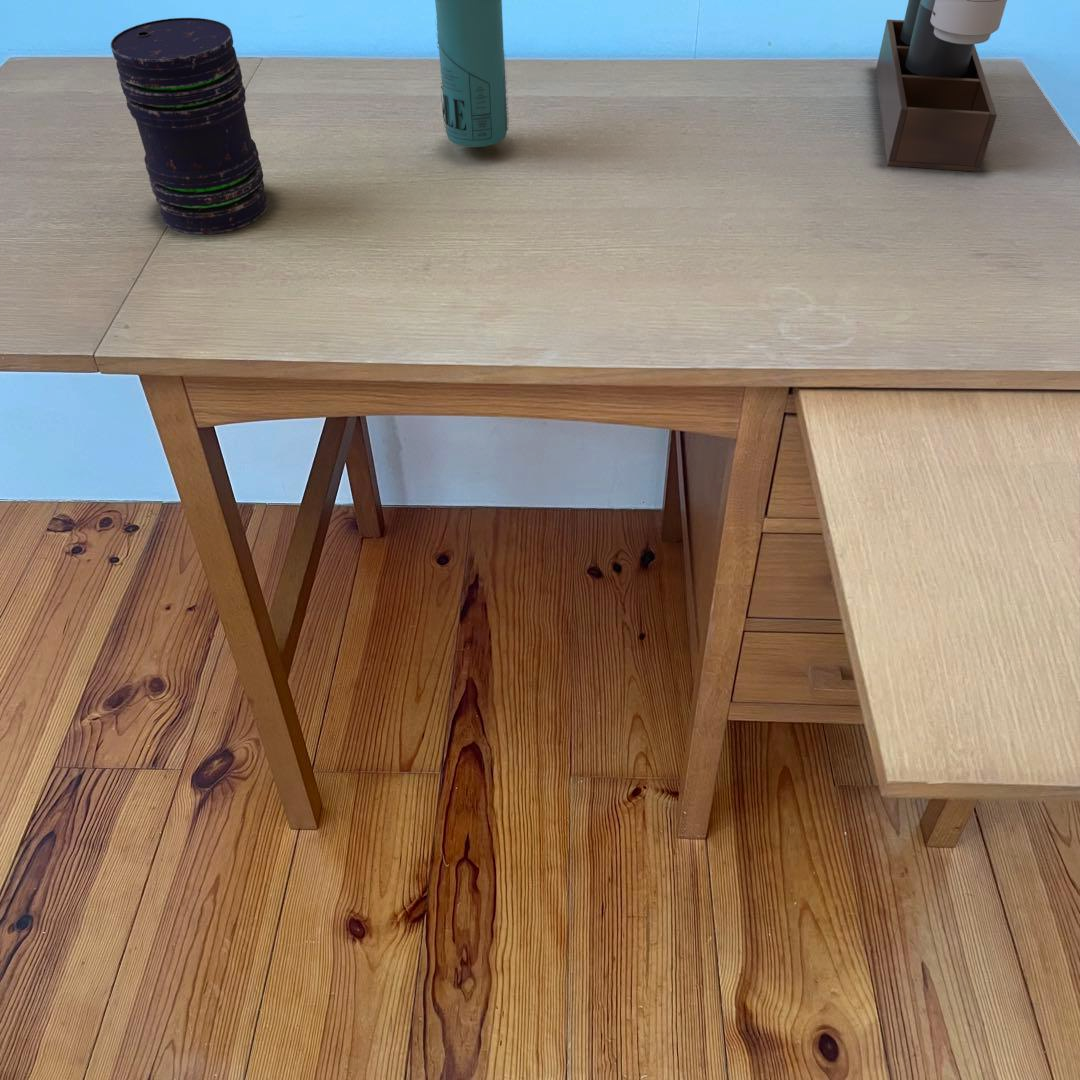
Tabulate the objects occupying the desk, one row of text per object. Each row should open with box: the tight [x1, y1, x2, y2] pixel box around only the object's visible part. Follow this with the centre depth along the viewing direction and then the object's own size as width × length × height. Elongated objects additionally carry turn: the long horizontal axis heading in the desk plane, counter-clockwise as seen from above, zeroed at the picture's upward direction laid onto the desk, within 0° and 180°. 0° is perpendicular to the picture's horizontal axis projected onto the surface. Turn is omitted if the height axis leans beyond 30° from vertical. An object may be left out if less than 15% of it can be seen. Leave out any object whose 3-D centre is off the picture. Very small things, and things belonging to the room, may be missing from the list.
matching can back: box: [899, 0, 921, 46], centre depth 106 cm, size 6×6×15 cm
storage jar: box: [110, 17, 269, 235], centre depth 88 cm, size 10×10×15 cm
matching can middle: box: [903, 0, 975, 78], centre depth 100 cm, size 6×6×15 cm
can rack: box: [875, 19, 998, 173], centre depth 104 cm, size 9×25×6 cm, turn 169°
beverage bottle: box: [434, 0, 510, 148], centre depth 94 cm, size 6×7×20 cm
